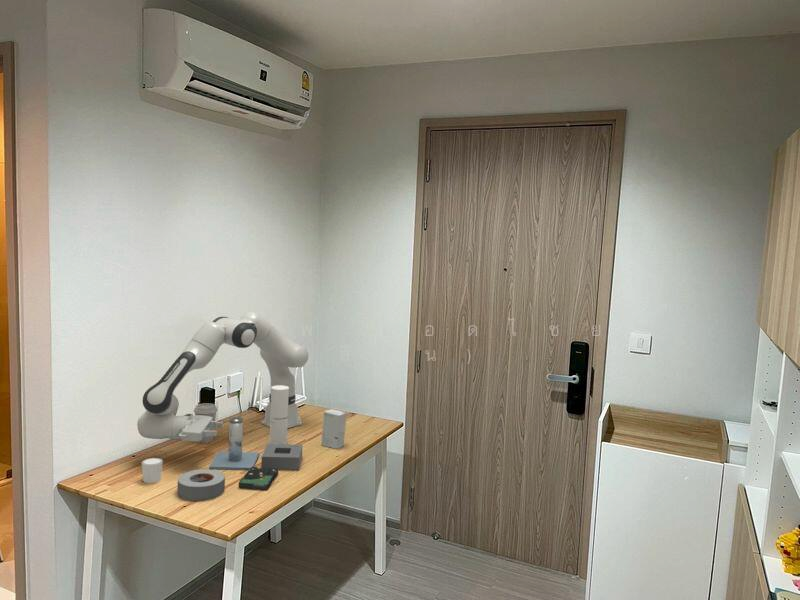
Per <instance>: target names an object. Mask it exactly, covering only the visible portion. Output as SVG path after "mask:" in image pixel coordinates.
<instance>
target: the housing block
mask: <svg viewBox="0 0 800 600" xmlns="http://www.w3.org/2000/svg"><path fill="white" fill-rule="evenodd" d="M302 459H303V444H290V443H289V444H288V443H287V444H269V443H266V445H265V448H264V450H263V453H262V454H261V467H260V469H262V468H271V469H278V471H300V466H301V463H302Z"/></svg>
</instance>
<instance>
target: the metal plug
mask: <svg viewBox="0 0 800 600" xmlns="http://www.w3.org/2000/svg"><path fill="white" fill-rule="evenodd" d="M228 422H229V424H228V426H229V427H228V428H229V430H228V452H229V458H228V460H229V461H231V462H238V461H241V460H242V452H243V432H244V431H243V430H244V427H243V426H244V418H243V417H241V416H234V417H230V418H229V421H228Z"/></svg>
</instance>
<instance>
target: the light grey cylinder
mask: <svg viewBox="0 0 800 600" xmlns="http://www.w3.org/2000/svg"><path fill="white" fill-rule="evenodd" d="M163 463H164V461H163V459H161V458H158V457H151V458H146V459H144V460H142V462H141V469H142V470H141V471H142V480H143V481H144V482H145V483H144V482H143V481H142V482H143V483H144V484H147V483H153V484H156V483H155V482H157V483H159V482H161V480H162V471H163ZM158 481H159V482H158Z"/></svg>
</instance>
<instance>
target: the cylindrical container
mask: <svg viewBox="0 0 800 600" xmlns="http://www.w3.org/2000/svg"><path fill="white" fill-rule="evenodd" d="M270 394H271V411H270V427H269V443H268V444H288V428H287V423H288V396H289V387H288V386H283V385H277V386H272V387H271V386H270Z"/></svg>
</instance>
